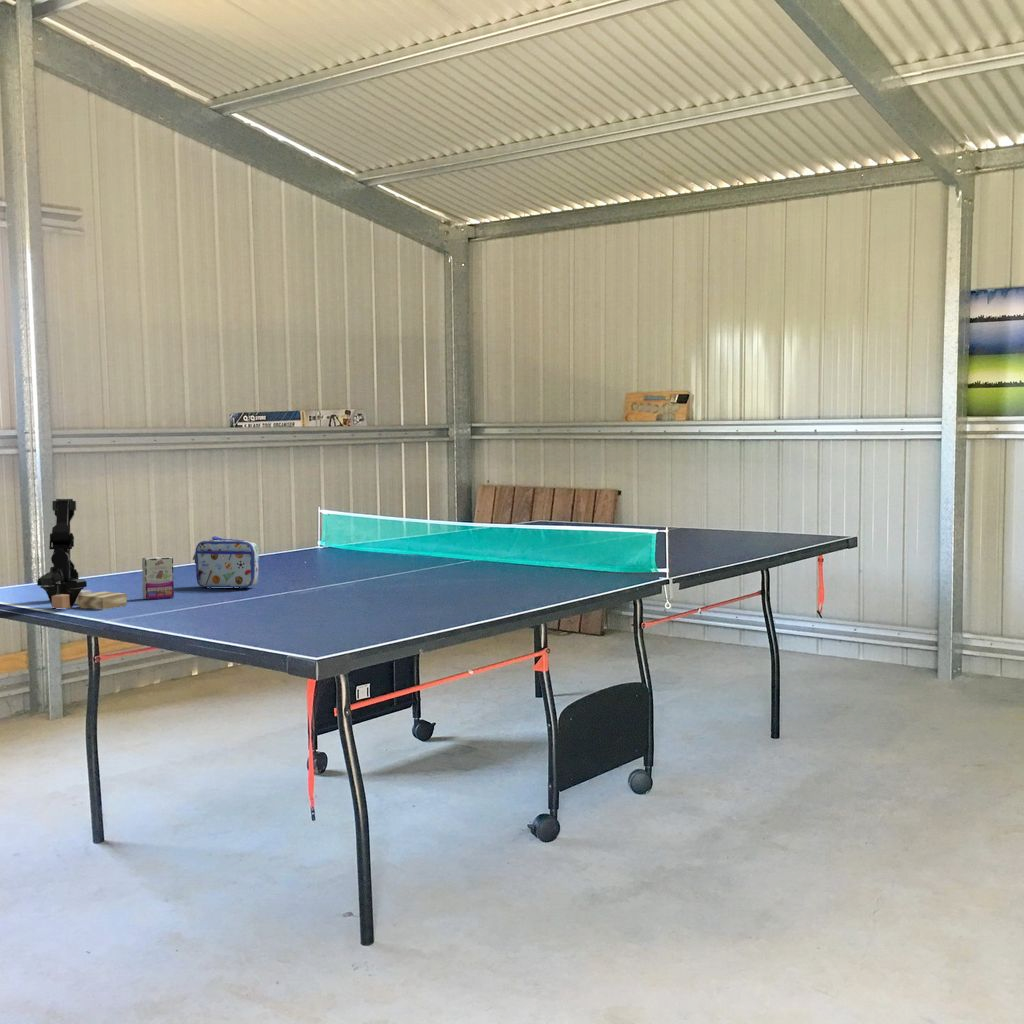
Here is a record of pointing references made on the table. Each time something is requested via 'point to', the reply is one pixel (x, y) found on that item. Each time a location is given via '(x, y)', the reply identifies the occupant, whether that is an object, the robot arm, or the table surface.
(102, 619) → the table surface
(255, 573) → the lunch box
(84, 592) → the white cube
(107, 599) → the maple block
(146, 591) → the candy bar box
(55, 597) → the terracotta cube
